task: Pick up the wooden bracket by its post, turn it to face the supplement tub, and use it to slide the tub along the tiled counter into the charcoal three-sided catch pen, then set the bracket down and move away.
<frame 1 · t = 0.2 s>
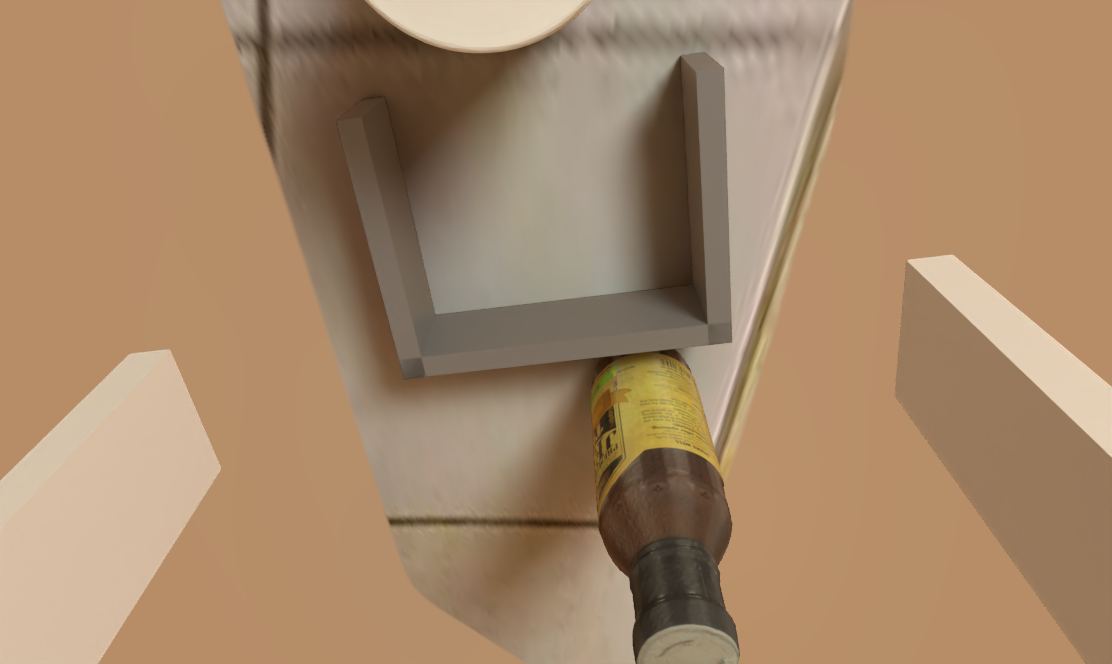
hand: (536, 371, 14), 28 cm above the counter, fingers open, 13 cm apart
catch pen: (548, 200, 41), on the counter
sauce bottle: (640, 378, 46), on the counter
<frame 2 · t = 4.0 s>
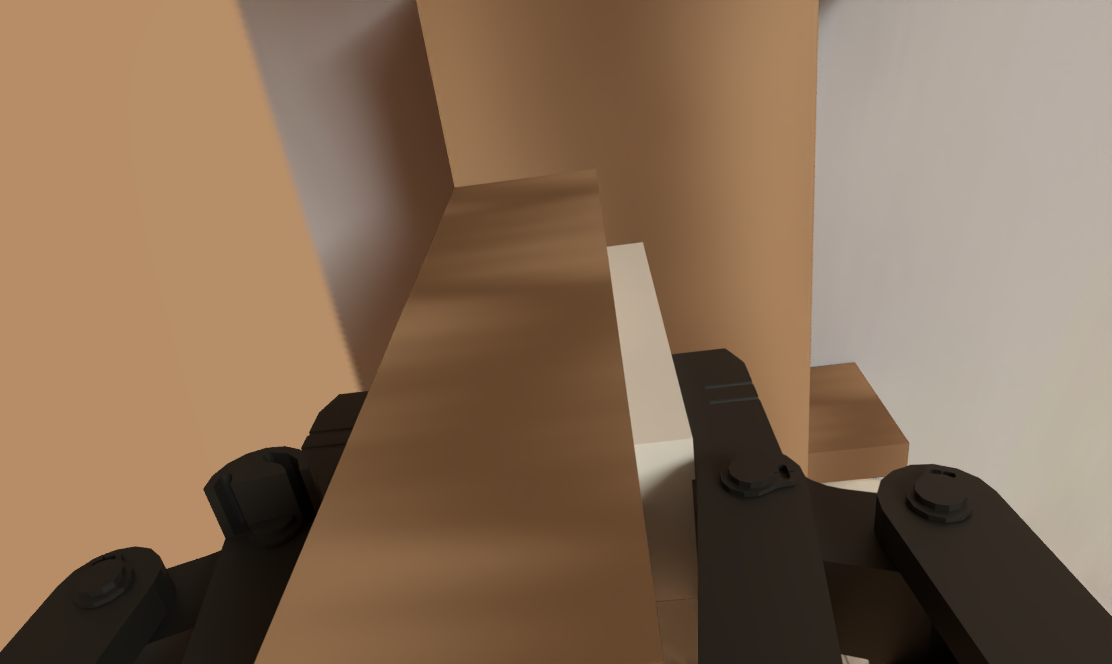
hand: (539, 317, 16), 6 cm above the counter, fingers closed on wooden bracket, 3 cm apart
wooden bracket: (545, 224, 21), on the counter, touching gripper
supplement tub: (826, 567, 27), on the counter
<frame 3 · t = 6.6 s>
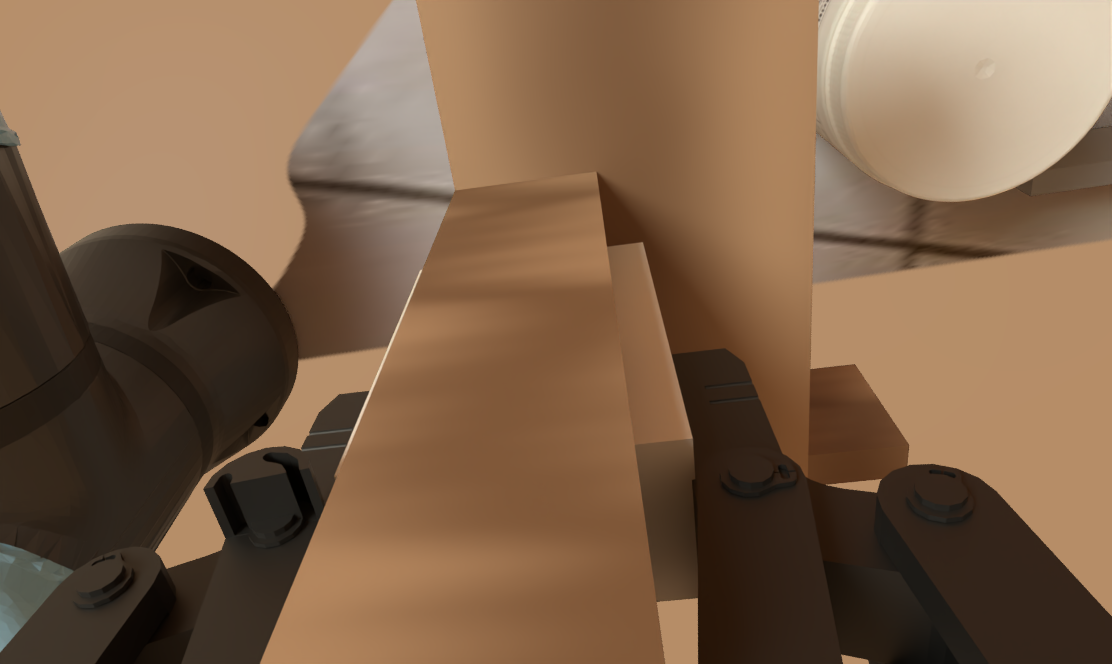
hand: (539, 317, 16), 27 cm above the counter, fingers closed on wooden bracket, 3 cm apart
wooden bracket: (546, 226, 21), point 21 cm above the counter, touching gripper
supplement tub: (840, 20, 38), on the counter
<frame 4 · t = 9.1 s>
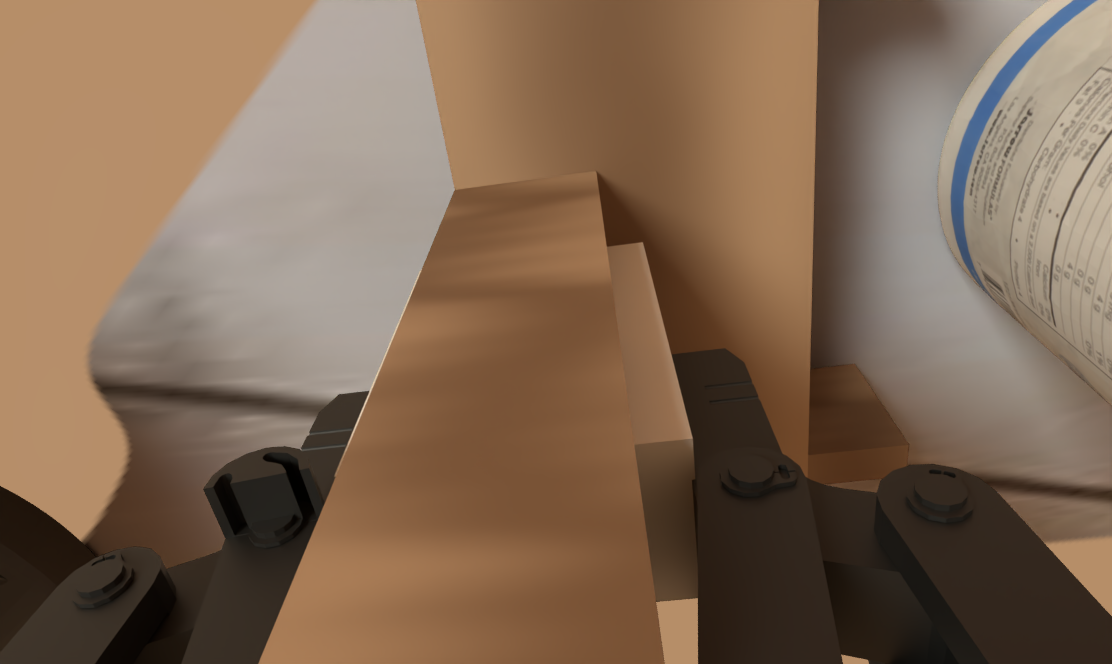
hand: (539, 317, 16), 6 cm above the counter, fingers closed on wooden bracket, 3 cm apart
wooden bracket: (545, 226, 21), point 1 cm above the counter, touching gripper
supplement tub: (1100, 142, 20), on the counter
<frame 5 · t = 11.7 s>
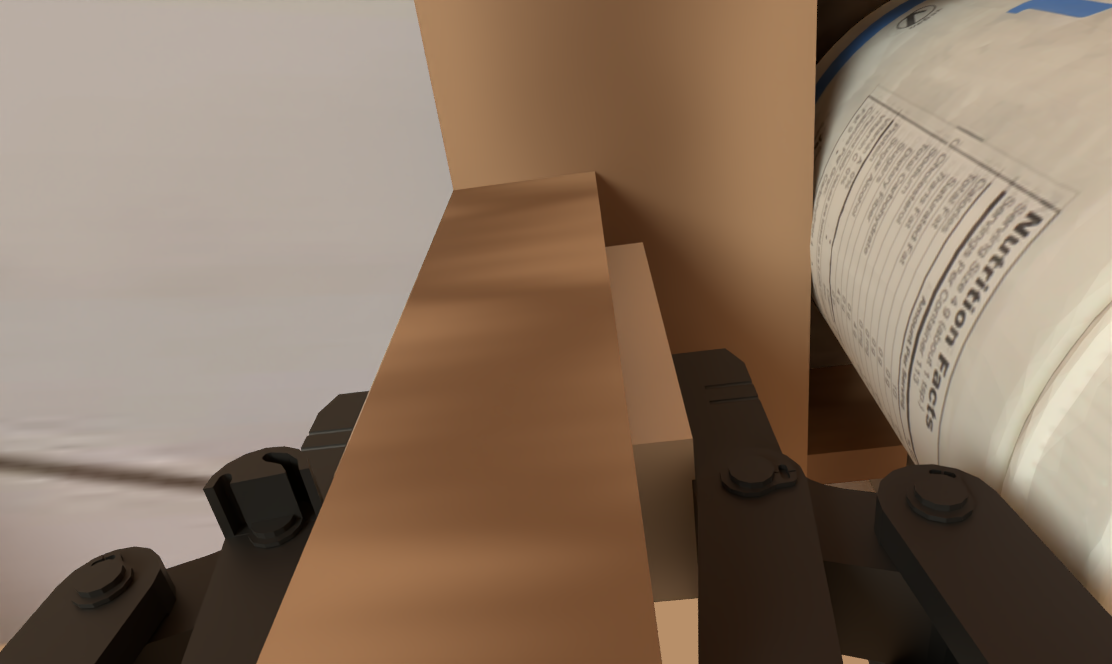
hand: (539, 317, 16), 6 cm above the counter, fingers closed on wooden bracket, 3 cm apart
wooden bracket: (544, 226, 21), point 1 cm above the counter, touching gripper, supplement tub
supplement tub: (934, 158, 20), on the counter, touching wooden bracket
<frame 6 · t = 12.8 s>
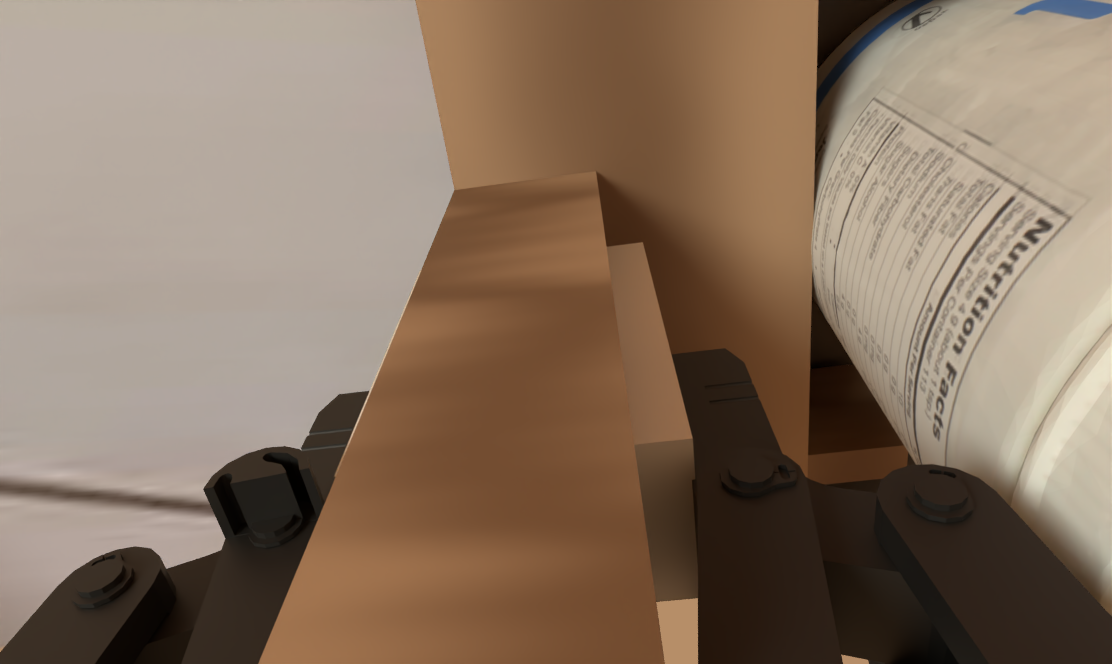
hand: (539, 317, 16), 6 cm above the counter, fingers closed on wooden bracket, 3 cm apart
wooden bracket: (545, 226, 21), on the counter, touching gripper, supplement tub
catch pen: (979, 164, 20), on the counter
supplement tub: (939, 160, 20), on the counter, touching wooden bracket
when the fingers open (6 cm above the counter, at t = 14.3 s): wooden bracket stays where it is, on the counter.
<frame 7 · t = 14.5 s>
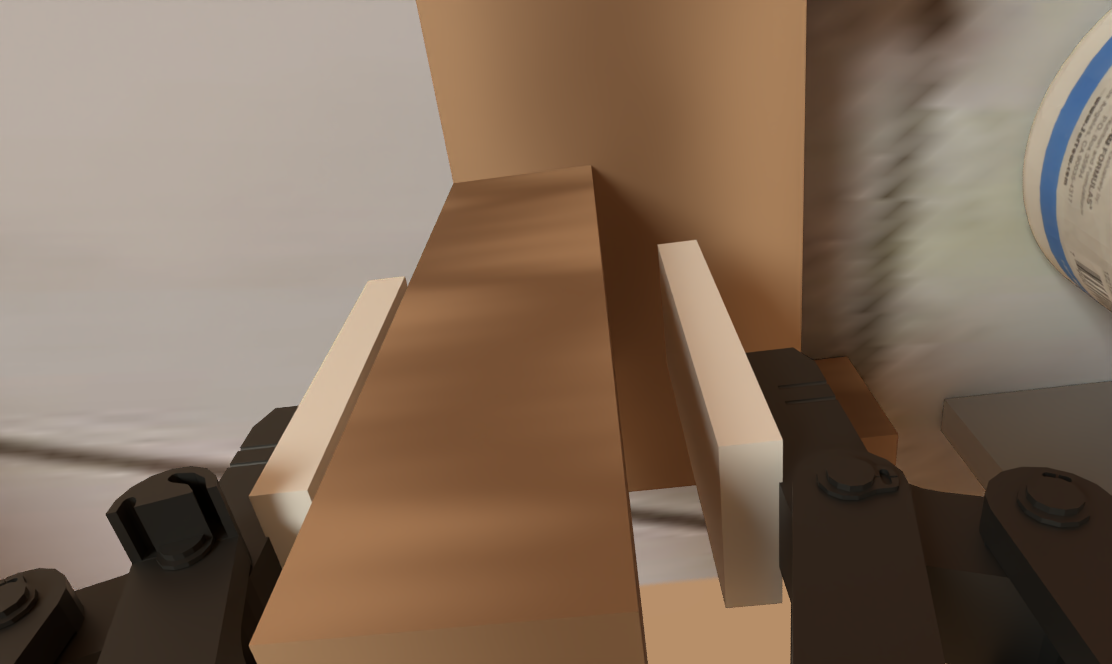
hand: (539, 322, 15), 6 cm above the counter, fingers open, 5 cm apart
wooden bracket: (543, 220, 21), on the counter
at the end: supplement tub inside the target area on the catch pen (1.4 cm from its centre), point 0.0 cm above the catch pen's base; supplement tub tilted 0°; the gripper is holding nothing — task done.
